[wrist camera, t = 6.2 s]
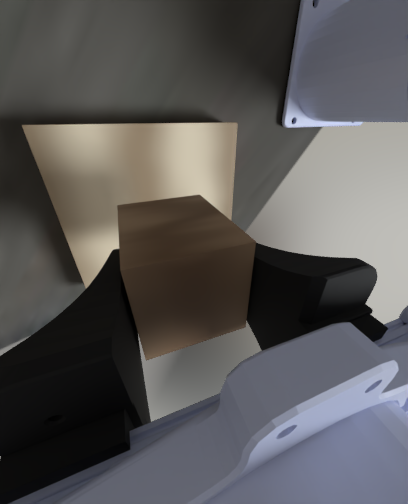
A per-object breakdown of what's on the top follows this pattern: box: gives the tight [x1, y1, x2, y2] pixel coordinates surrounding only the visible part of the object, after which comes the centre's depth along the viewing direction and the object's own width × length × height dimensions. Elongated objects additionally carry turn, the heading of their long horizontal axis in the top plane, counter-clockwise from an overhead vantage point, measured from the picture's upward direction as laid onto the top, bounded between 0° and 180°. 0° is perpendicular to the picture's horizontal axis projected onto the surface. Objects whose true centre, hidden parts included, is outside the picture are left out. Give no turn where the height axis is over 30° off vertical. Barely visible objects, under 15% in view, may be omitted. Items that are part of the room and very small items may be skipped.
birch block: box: [22, 122, 238, 288], centre depth 18 cm, size 13×13×3 cm
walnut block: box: [117, 195, 256, 360], centre depth 10 cm, size 4×4×6 cm
